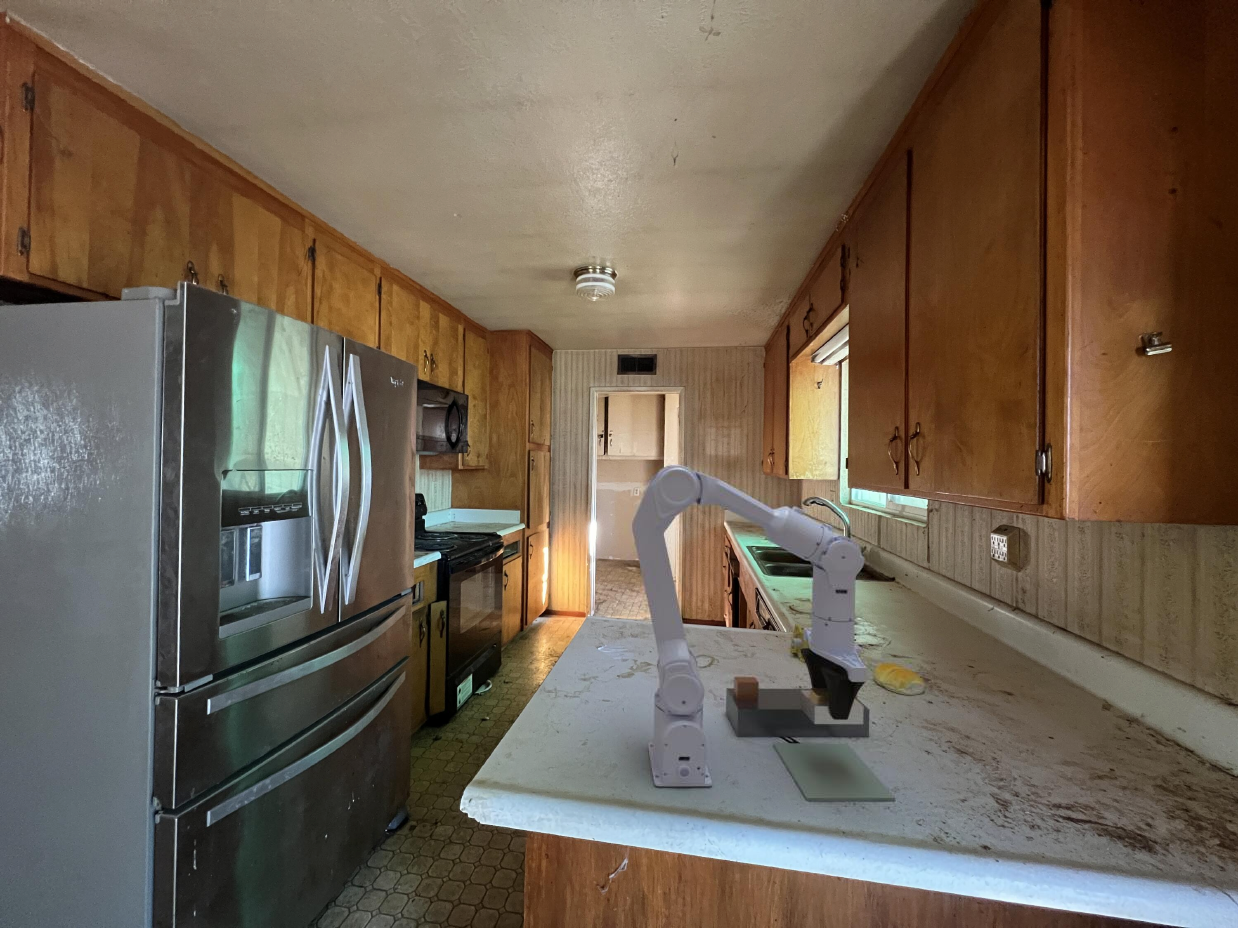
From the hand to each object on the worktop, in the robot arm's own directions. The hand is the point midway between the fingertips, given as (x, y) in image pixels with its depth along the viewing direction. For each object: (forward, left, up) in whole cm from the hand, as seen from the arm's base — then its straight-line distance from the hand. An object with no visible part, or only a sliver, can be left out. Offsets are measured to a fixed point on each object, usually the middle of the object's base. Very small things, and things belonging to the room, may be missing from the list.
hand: (830, 708), depth 67 cm
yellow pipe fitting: (+40, -16, -10) cm, 44 cm away
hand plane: (+12, 0, -9) cm, 15 cm away
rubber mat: (0, 0, -9) cm, 9 cm away
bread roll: (+27, -28, -10) cm, 40 cm away
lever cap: (0, 0, -1) cm, 1 cm away
